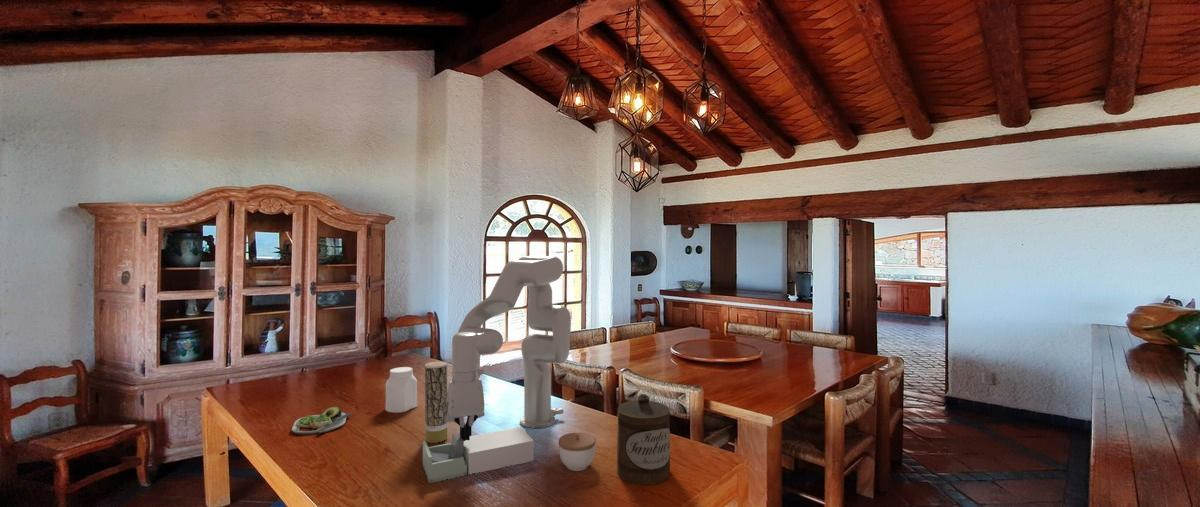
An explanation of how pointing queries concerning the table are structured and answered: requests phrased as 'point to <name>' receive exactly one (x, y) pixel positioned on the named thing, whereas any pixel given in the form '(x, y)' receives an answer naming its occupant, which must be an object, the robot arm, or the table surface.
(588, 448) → the lidded jar
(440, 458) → the slate tile front
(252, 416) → the table surface
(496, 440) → the white rectangular block
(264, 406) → the table surface
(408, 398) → the jar
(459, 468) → the box
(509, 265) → the robot arm
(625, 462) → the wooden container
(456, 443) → the slate tile back
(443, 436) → the bark-textured canister
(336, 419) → the avocado toast plate
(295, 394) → the table surface
